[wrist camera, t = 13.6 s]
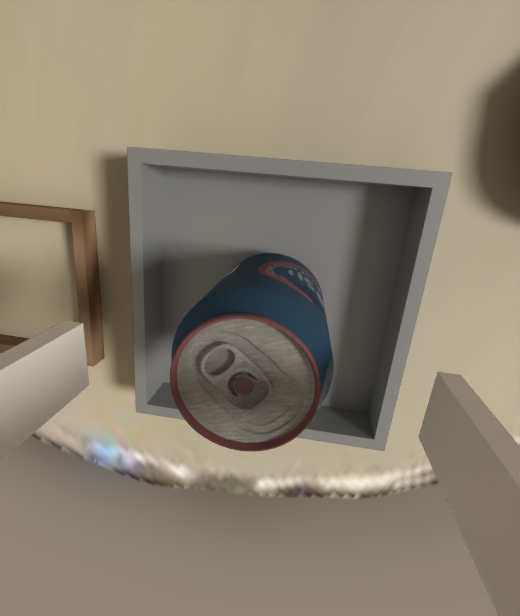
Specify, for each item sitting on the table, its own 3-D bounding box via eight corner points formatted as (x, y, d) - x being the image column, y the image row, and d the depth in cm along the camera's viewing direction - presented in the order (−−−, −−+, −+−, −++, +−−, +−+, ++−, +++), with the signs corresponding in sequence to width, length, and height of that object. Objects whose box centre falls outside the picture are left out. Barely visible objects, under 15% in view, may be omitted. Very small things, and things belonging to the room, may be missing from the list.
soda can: (343, 302, 23) (379, 400, 12) (270, 362, 25) (243, 492, 14) (274, 228, 22) (242, 257, 11) (204, 296, 25) (118, 378, 13)
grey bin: (153, 154, 22) (126, 146, 19) (429, 176, 21) (452, 172, 17) (156, 386, 28) (136, 412, 25) (374, 419, 26) (384, 451, 23)
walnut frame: (-53, 196, 25) (-74, 196, 24) (94, 210, 24) (81, 211, 23) (-25, 339, 29) (-42, 346, 27) (104, 357, 28) (93, 366, 26)
